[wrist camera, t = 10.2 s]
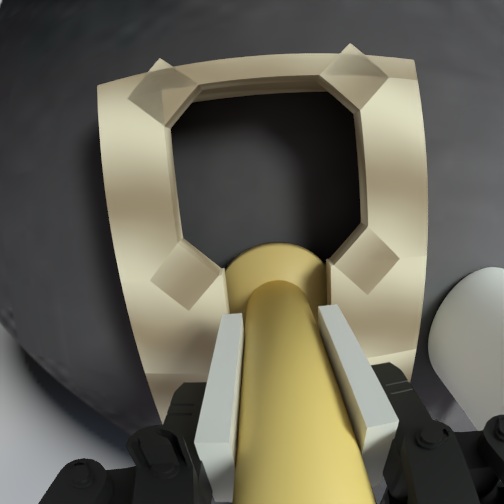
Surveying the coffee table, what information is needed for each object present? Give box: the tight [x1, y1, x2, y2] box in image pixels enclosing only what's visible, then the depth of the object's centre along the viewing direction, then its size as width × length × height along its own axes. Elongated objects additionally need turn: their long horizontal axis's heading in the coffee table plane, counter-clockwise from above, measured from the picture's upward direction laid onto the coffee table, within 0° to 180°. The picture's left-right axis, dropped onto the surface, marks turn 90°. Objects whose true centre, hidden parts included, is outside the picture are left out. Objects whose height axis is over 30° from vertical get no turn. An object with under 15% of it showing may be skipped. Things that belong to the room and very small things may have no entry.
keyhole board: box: [97, 43, 428, 424], centre depth 15 cm, size 19×14×3 cm
